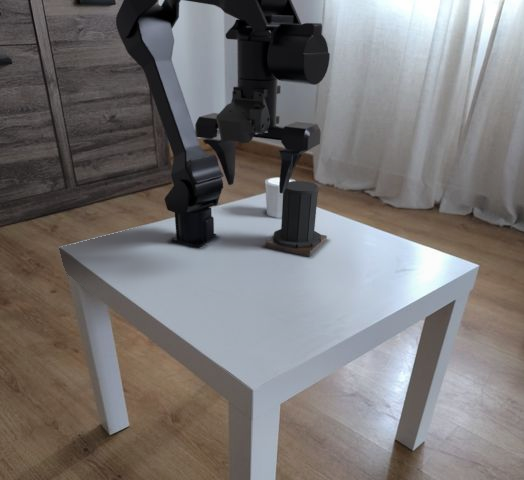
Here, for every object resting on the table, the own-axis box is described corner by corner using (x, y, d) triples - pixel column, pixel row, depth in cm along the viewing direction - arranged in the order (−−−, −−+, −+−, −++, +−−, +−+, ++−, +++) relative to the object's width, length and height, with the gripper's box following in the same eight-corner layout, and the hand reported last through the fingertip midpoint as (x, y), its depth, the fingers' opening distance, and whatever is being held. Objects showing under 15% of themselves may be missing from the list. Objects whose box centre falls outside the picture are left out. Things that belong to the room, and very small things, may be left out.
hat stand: (265, 247, 92) (266, 216, 89) (284, 231, 99) (286, 202, 96) (309, 256, 89) (312, 225, 86) (326, 240, 96) (329, 210, 92)
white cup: (292, 220, 105) (294, 187, 101) (261, 217, 106) (261, 184, 102) (297, 209, 110) (299, 178, 106) (267, 207, 111) (268, 175, 107)
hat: (291, 251, 88) (294, 196, 83) (264, 234, 95) (266, 182, 89) (330, 242, 92) (336, 189, 87) (302, 227, 99) (306, 176, 93)
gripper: (170, 78, 67) (179, 192, 76) (296, 88, 61) (289, 212, 70) (212, 72, 76) (215, 176, 84) (326, 81, 69) (316, 192, 78)
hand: (255, 188), depth 79 cm, fingers open, 9 cm apart
